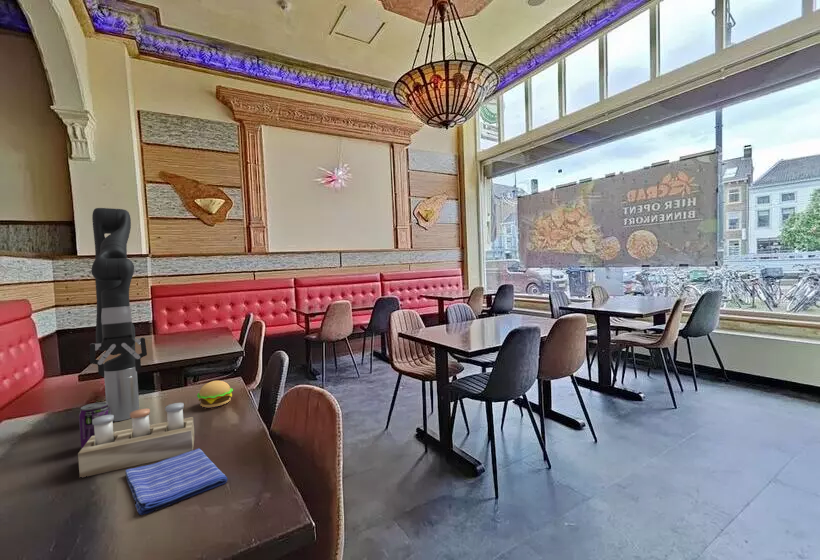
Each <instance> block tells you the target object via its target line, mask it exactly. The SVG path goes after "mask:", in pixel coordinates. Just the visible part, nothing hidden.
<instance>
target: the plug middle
mask: <svg viewBox="0 0 820 560" xmlns="http://www.w3.org/2000/svg"><path fill="white" fill-rule="evenodd" d="M150 414H151V409H150V408H139V410H135V411H133V412H131V413H130V419H131V425H132V427H131V429H132V430H133V438H136V437H141V436H146V435H150V425H151V424H150Z"/></svg>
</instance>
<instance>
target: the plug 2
mask: <svg viewBox="0 0 820 560" xmlns="http://www.w3.org/2000/svg"><path fill="white" fill-rule="evenodd" d="M184 407H185V406H184V402H175V403H169V404H168V405H166V406H165V407H164V409H165V412H166V420H167V421H166V422H168V431H171V430H176V429H181V428H184V421H183V419H184V411H183V410H184Z"/></svg>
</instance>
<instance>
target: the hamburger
mask: <svg viewBox="0 0 820 560" xmlns="http://www.w3.org/2000/svg"><path fill="white" fill-rule="evenodd" d="M233 391H234V389H233V388H232V387H231V386H230V385H229V383H227V382H225V381H222V380H212V381H210V382H207V383H205V384H204V385H202V387H200V390H199V392H198V393H197V395H196V397H197V399H198V401H199V402H200V404H199V405H200V407H201V406H202V407H201V408H203V407H215V406H220V405H223V404H226V403H228V402H229V401H230V402H231V398H232V397H233V393H232V392H233ZM230 402H229V403H230ZM229 403H228V404H229Z"/></svg>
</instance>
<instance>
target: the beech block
mask: <svg viewBox="0 0 820 560" xmlns="http://www.w3.org/2000/svg"><path fill="white" fill-rule="evenodd" d="M183 421H184V428H181V429H176V430H171V431H168V422H167V421H165V422H157V423H153V424H149V425H150V435H146V436H141V437H136V438H133V430H132V428H128V429H123V430H118V431H117V430H116V431H113V434H114V442H111V443H106V444H101V445H96V446H95V436H91V438H90V439H89V440H88V441H87V443H86V444H85V445H84V447H83V448H82V449H81V448H80V450H79V452H78V453H77V457H78V470H79V472H78V473H79V478H80V477H82V478H87V477H90V476H91V477H92V476H95V475H100V474H104V473H108V472H113V471H117V470H121V469H125V468H130V467H131V468H132V467H135V466H139V465H144V464H149V463H152V462H153V463H154V462H157V461H158V462H159V461H163V460H166V459H169V458H172V457H175V456H178V455H181V454H184V453H187V452H190V451H193V450H194V445H195V444H194V443H195V426H194V425H195V421H194V417H193V416H191V417H184V418H183ZM86 476H87V477H86Z"/></svg>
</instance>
